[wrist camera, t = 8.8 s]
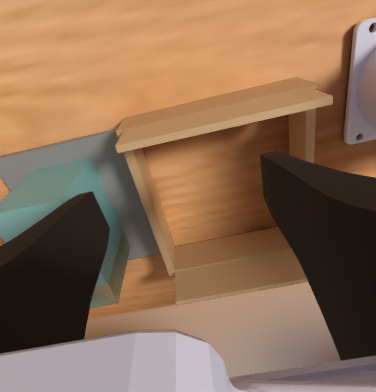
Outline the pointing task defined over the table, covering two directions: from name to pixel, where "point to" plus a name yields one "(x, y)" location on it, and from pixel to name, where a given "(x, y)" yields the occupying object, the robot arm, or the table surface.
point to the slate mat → (109, 174)
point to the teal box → (53, 198)
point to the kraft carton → (236, 244)
